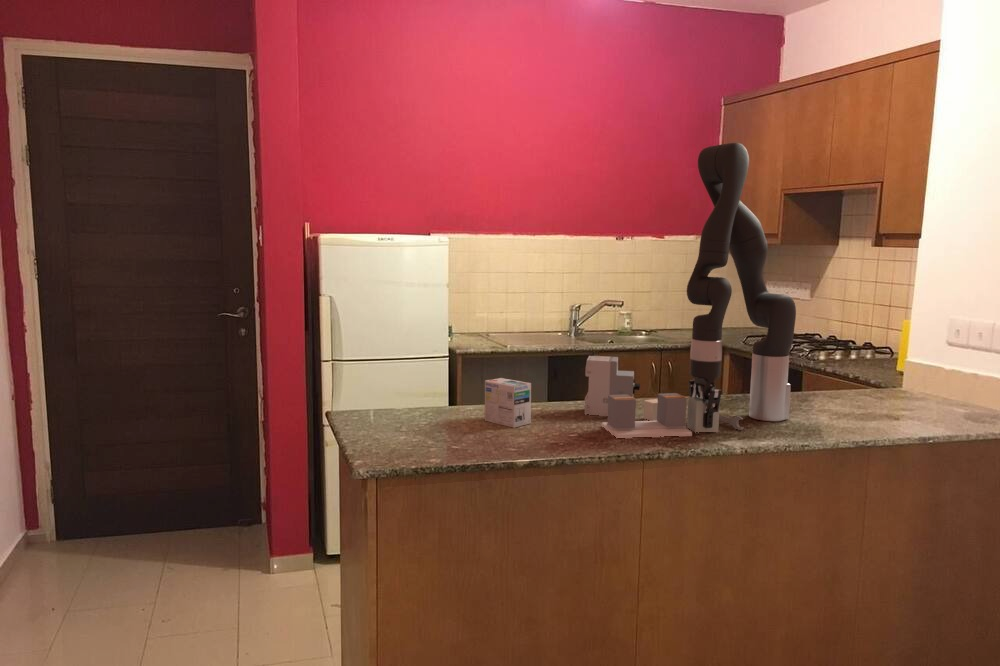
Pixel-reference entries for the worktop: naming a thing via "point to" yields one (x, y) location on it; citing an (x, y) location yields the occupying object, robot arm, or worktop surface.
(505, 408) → the light bulb box
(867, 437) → the worktop surface
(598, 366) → the circuit breaker
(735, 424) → the combination wrench
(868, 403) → the worktop surface
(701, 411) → the block
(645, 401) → the beige block
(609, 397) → the rail board
